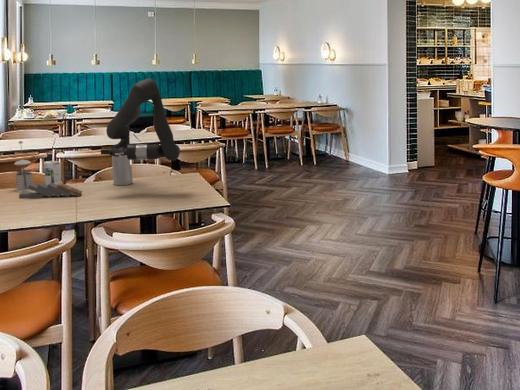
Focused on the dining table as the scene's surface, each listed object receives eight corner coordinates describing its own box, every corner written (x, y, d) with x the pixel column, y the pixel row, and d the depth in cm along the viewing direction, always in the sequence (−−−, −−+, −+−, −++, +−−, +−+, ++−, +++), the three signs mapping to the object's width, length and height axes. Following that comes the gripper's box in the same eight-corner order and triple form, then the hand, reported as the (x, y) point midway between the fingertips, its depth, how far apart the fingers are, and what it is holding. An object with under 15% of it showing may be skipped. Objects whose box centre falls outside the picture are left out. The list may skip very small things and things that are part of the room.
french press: (34, 187, 293) (30, 139, 288) (36, 191, 283) (32, 141, 278) (14, 188, 289) (9, 140, 284) (15, 193, 279) (10, 142, 274)
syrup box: (45, 190, 285) (42, 161, 282) (54, 188, 290) (52, 160, 287) (53, 191, 283) (50, 162, 279) (62, 189, 288) (60, 161, 285)
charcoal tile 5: (45, 191, 273) (22, 192, 272) (42, 194, 268) (19, 194, 267) (46, 195, 273) (22, 196, 272) (43, 197, 268) (19, 198, 267)
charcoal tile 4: (54, 191, 273) (31, 182, 270) (51, 194, 268) (29, 184, 265) (52, 195, 273) (30, 186, 270) (50, 197, 268) (27, 188, 266)
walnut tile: (82, 191, 274) (60, 182, 272) (80, 193, 269) (57, 184, 267) (80, 194, 274) (59, 185, 272) (78, 196, 269) (56, 187, 267)
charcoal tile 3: (62, 191, 273) (40, 182, 271) (60, 193, 268) (38, 184, 266) (61, 194, 273) (39, 185, 271) (59, 197, 269) (36, 188, 266)
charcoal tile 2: (72, 191, 273) (51, 182, 272) (70, 193, 269) (48, 184, 267) (71, 194, 274) (49, 185, 272) (69, 197, 269) (46, 188, 267)
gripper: (139, 142, 274) (103, 141, 273) (135, 146, 261) (97, 146, 260) (140, 157, 276) (104, 157, 275) (135, 162, 263) (98, 162, 262)
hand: (101, 151), depth 268 cm, fingers closed
